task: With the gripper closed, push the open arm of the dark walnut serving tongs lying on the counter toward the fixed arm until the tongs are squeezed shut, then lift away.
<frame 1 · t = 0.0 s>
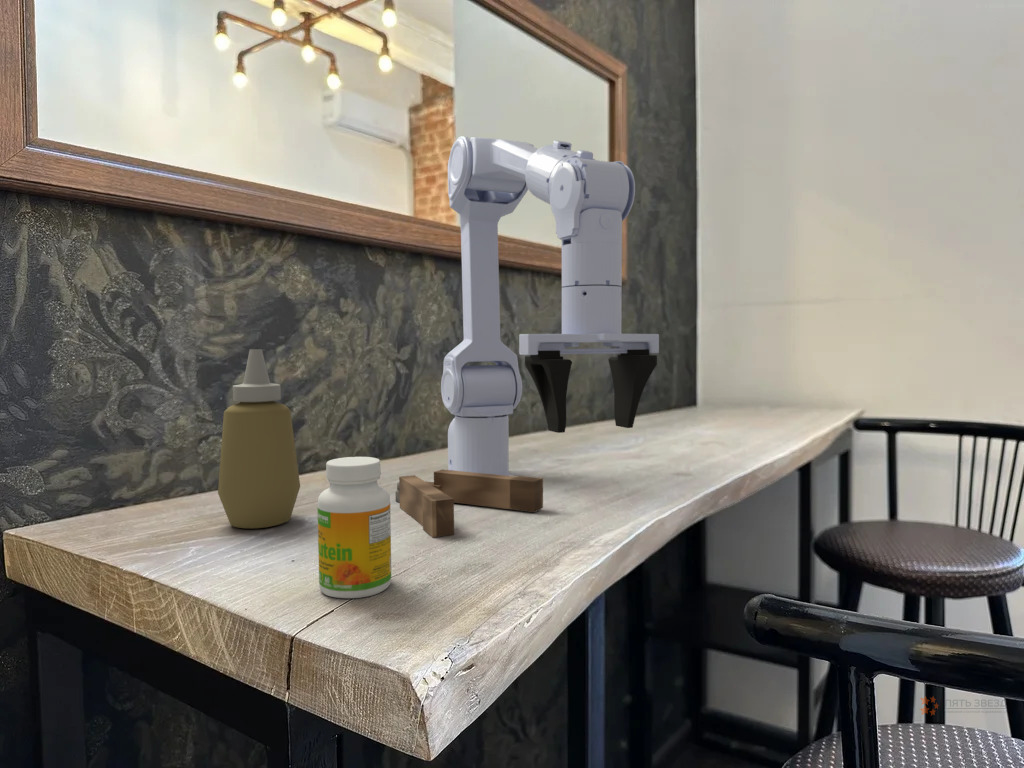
hand: (591, 429, 66), 10 cm above the table, fingers open, 7 cm apart
supplement bottle: (355, 589, 52), on the table
squeeze bottle: (260, 524, 70), on the table
tongs base: (411, 499, 80), on the table
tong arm: (465, 489, 77), point 2 cm above the table, hinge at 38.0°
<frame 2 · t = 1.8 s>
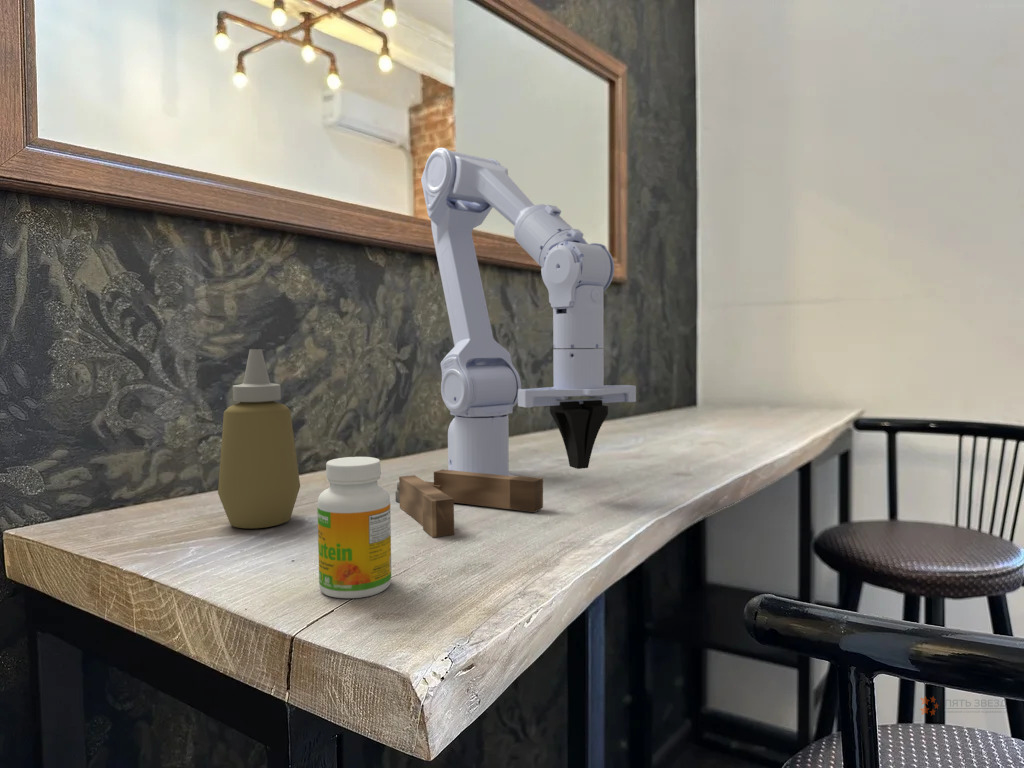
hand: (578, 467, 78), 4 cm above the table, fingers closed
nothing on the table moved.
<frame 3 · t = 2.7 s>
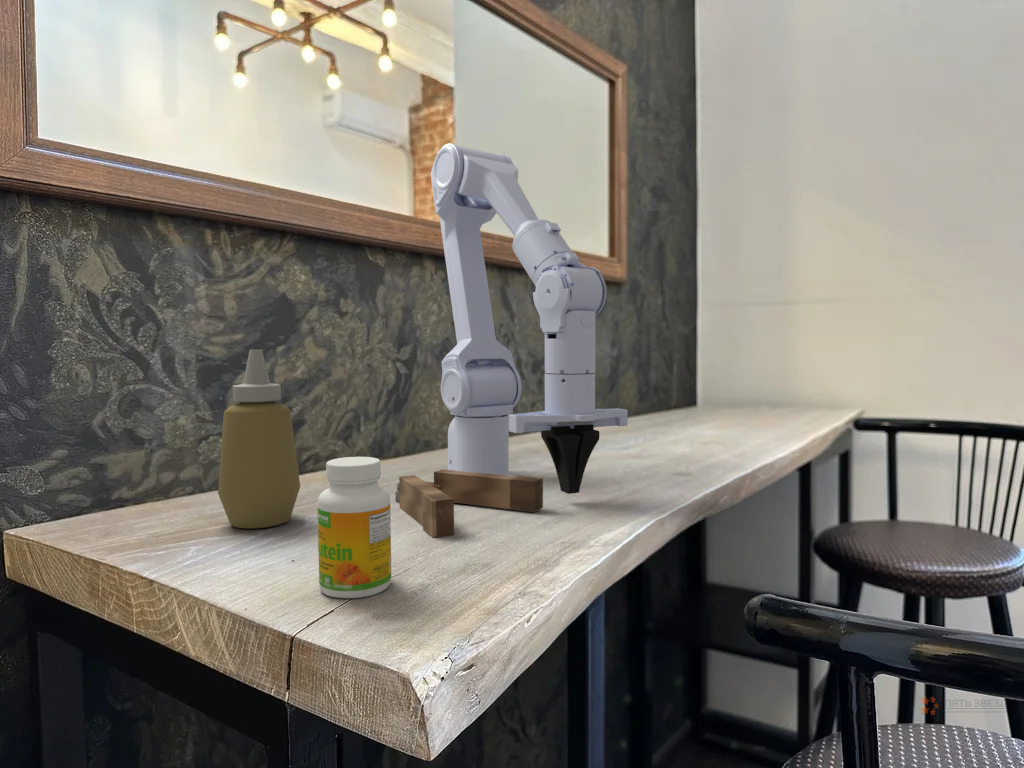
hand: (569, 491, 78), 1 cm above the table, fingers closed
nothing on the table moved.
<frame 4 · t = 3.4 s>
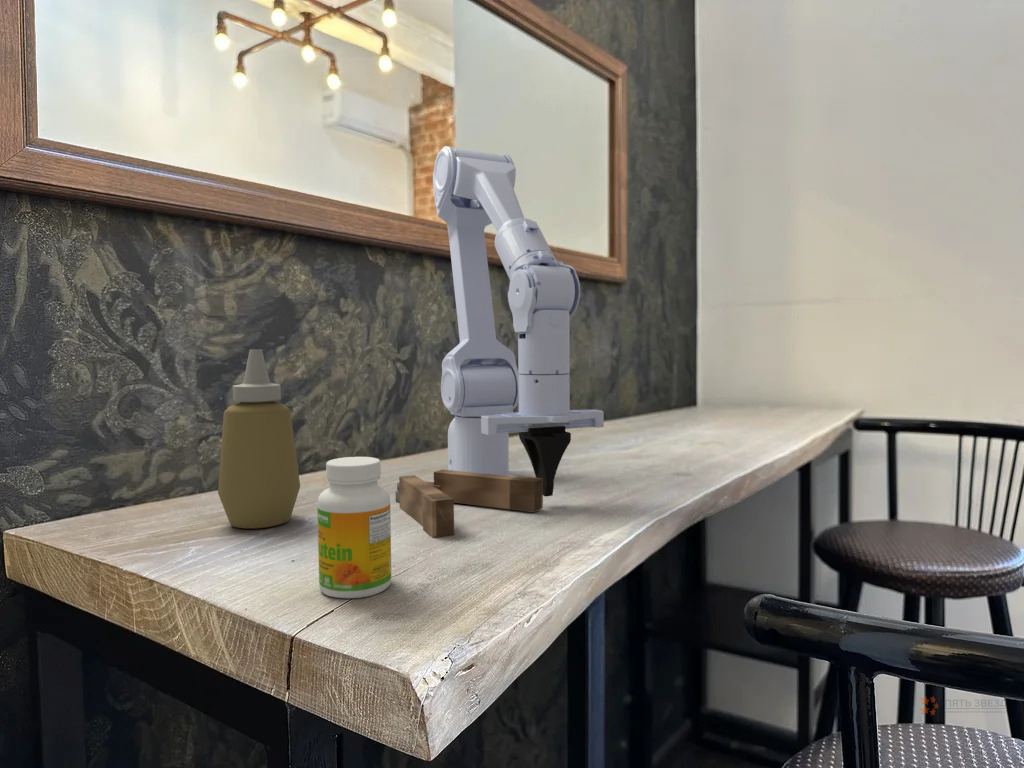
hand: (544, 494, 76), 1 cm above the table, fingers closed, pressing on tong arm
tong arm: (465, 489, 77), point 2 cm above the table, hinge at 37.6°, touching gripper
everything else where it was.
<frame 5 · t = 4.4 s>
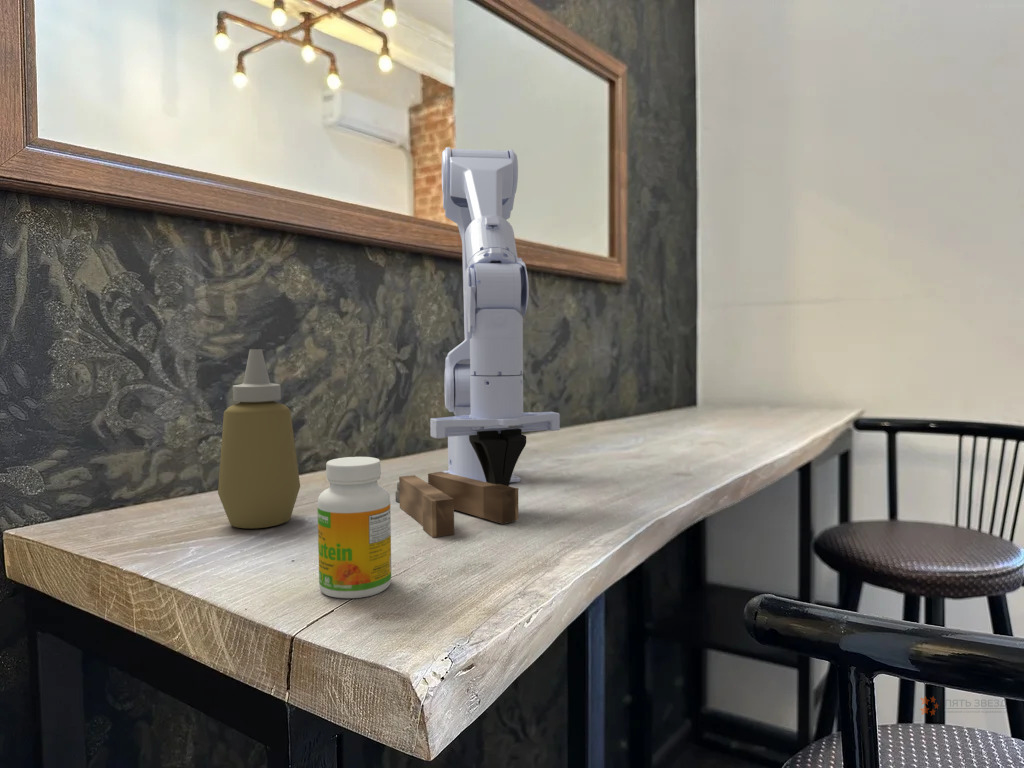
hand: (497, 499, 74), 1 cm above the table, fingers closed
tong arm: (450, 493, 75), point 2 cm above the table, hinge at 17.1°, touching gripper
everything else where it was.
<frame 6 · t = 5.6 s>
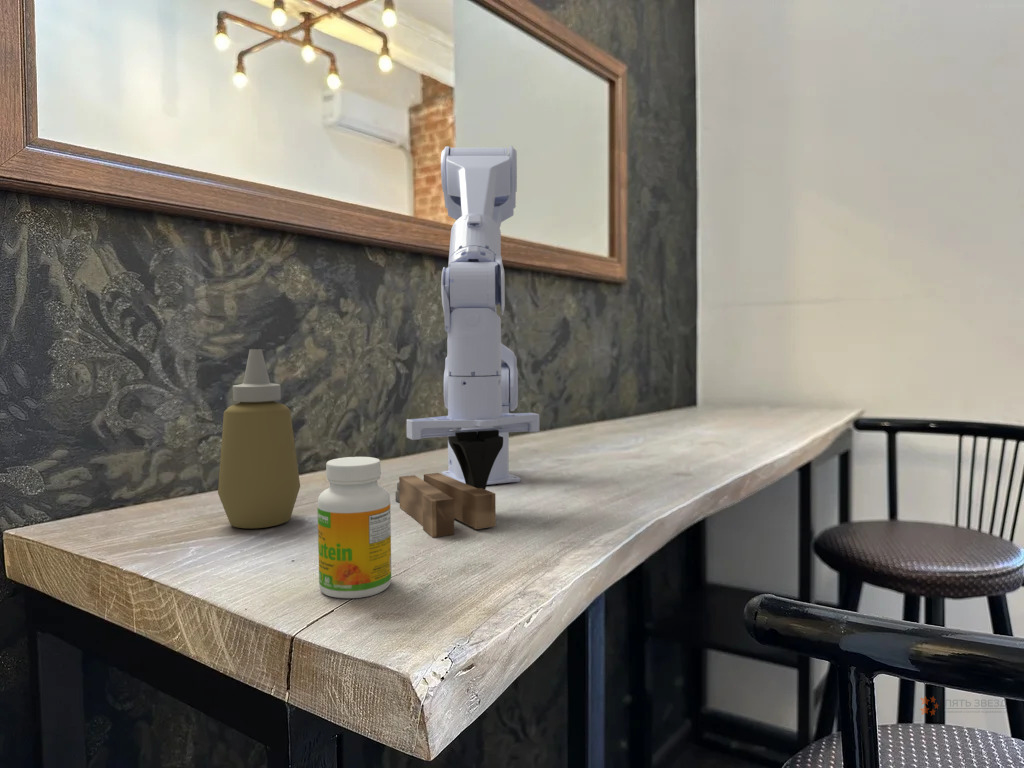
hand: (475, 501, 73), 1 cm above the table, fingers closed
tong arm: (439, 495, 74), point 2 cm above the table, hinge at 5.5°, touching gripper
everything else where it was.
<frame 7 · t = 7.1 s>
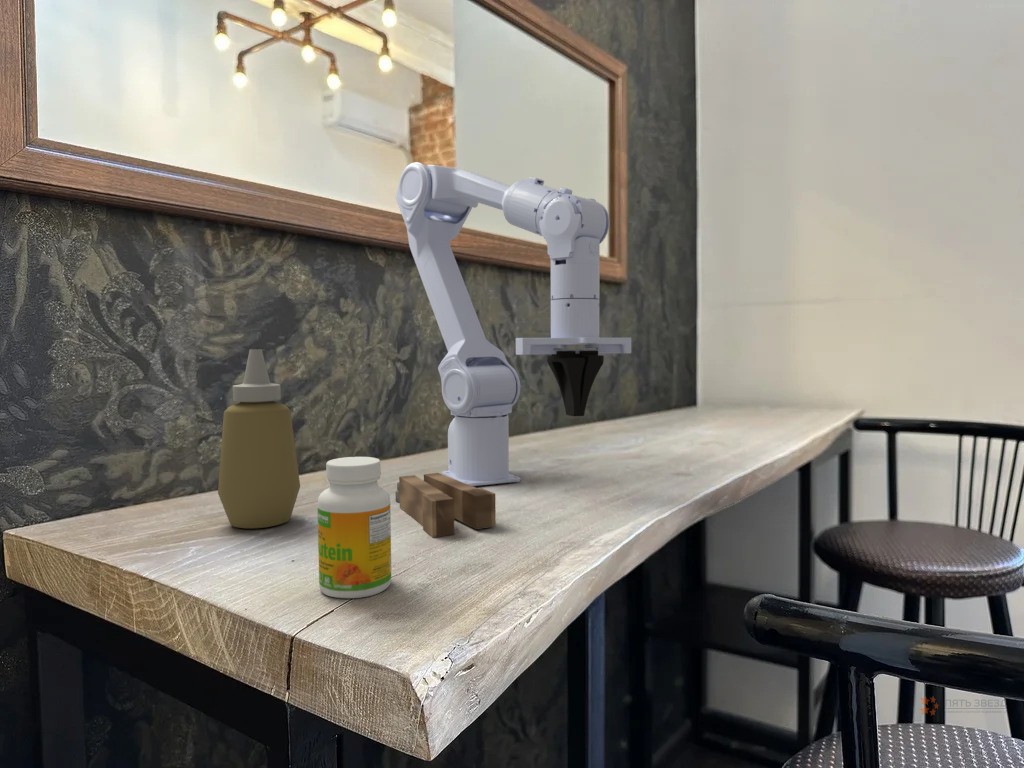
hand: (575, 415, 80), 10 cm above the table, fingers closed
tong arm: (439, 495, 74), point 2 cm above the table, hinge at 5.5°
everything else where it was.
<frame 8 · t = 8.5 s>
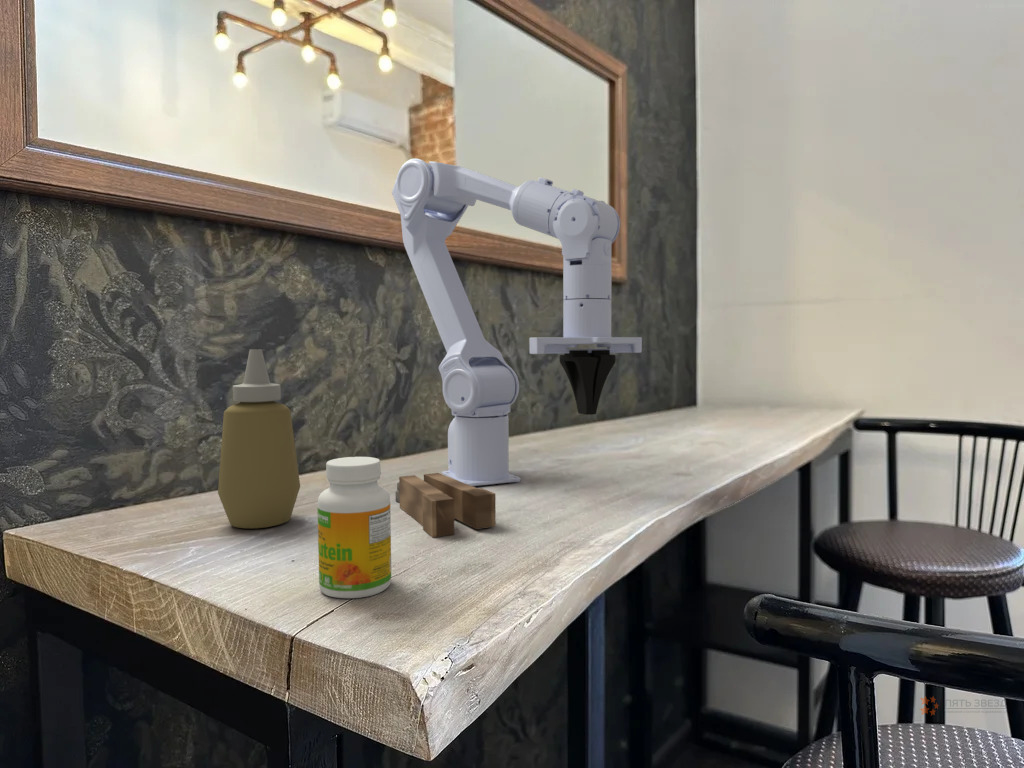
hand: (587, 413, 82), 10 cm above the table, fingers closed
nothing on the table moved.
at the end: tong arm at +6° (first picture: +38°); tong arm touching nothing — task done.
